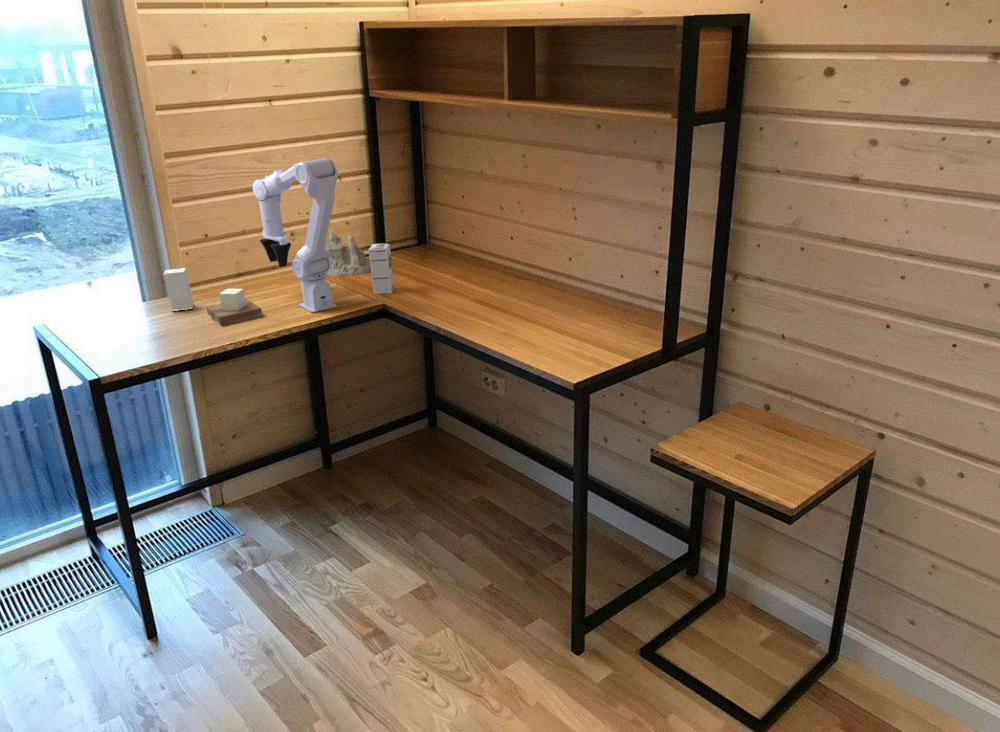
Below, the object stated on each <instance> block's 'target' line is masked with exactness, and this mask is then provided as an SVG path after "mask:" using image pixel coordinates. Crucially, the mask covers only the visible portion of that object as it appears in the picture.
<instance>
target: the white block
mask: <svg viewBox="0 0 1000 732" xmlns="http://www.w3.org/2000/svg"><path fill="white" fill-rule="evenodd" d="M218 296H219V301H220V304H221V307H222V310H224V311H239V310H240V309H242V308H243V307H245V306H246V300H245V299H246V295H245V290H244V288H226V289H225V290H223V291H221V292H220V293H218Z"/></svg>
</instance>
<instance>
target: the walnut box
mask: <svg viewBox="0 0 1000 732" xmlns="http://www.w3.org/2000/svg"><path fill="white" fill-rule="evenodd" d="M245 300H246V306H245V307H243V308H242V309H240V310H239V311H224V310H222V307H221V303H220V304H217V305H211V306H207V307H206V311H207V316H208V315H210V316H211V317H212V318H213V319H214V320H215V321H217V322H218V323H219V324H220V325H224V326H227V325H231V324H235V323H236V324H237V323H240V322H241V323H242V322H244V321H249V320H253V319H256V318H257V319H258V318H261V317H263V312H262V308H261V307H260V306H258V305H257V304H255V303H254V302H252V301H251V300H250V299H248V298H245ZM212 318H211V319H212ZM213 319H212V320H213ZM214 320H213V321H214ZM215 321H214V322H215ZM217 322H216V323H217ZM218 323H217V324H218ZM219 324H218V325H219ZM220 325H219V326H220Z"/></svg>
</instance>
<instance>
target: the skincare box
mask: <svg viewBox="0 0 1000 732" xmlns="http://www.w3.org/2000/svg"><path fill="white" fill-rule="evenodd" d="M162 275H163V279H164V283H165V286H166V291H167V296H168V299H169V304H170V307H171V310H172V309H183V308H184V309H186V308H192V307H193V305H194V306H195V304H194V300H193V294H192V290H191V286H190V281H189V277H188V271H187V268H185V267H184V268H182V267H181V268H176V269H175V268H174V269H173V268H171V269H165V271H164V272H163V274H162Z"/></svg>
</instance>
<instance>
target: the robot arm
mask: <svg viewBox="0 0 1000 732" xmlns="http://www.w3.org/2000/svg"><path fill="white" fill-rule="evenodd" d="M272 172H273V173H272V174H268V175H267V174H266V175H265V178H262V179H256V180H254V181H253V184H252V192H253V195H254V196H255V198H256V199H257V200H258V204H259V211H260V217H261V218H260V219H261V224H262V231H261V234H262V237H263V238H262V239H259V242H260V243H261V245H262V246H263V248H264V250H265V252H266V255H267V257H268V259H269V260H268V261H270V263H272V262H277V263H278V266H279V268H283V267H287V266H288V260H289V252H290V250H291V246H292V243H291V242H288V239H287V237H286V236H288V234H289V233H288V232H287V231H284V227H283V218H282V212H281V206H280V203H281V201H282V200H281V196H282V193H284V192H286V191H287V190H289V189H291V188H292V185H293V183H294V182H296V181H297V182H299V184H300V185H301V187H302V188H303V191H305V193H306V195H307V196H308V197H310V198H312V199H313V201H312V206H311V209H310V210H311V211H310V216H309V221H308V225H307V226H308V227H307V232H306V236H305V240H304V241H305V242H304V245H303V246H302V247H301V248H300V249H299V250H298V251H297V252H296V255H295V258H294V259H293V260H292V263H291V264H292V271H293V274H294V275H295V277H296V278H298V280H300V284H301V291H302V298H303V299H302V301H303V302H300V303H299V304H298V305H299V306H300V307H302V308H303V309H305V310H306V311H308V312H310V313H316V312H322V311H325V310H328V309H333V308H336V307H337V304H335V303H334V299H333V291H332V287H331V284H330V283H329V282H328V281H327V278H326V276H328V275H327V271H329V269H330V253H329V251H328V250H327V249H326V248H325V245H326V243H327V240H326V239H327V237H328V232H329V228H330V223H331V218H332V214H333V209H334V203H335V197H336V193H335V192H336V191H335V190H336V187H337V186H336V185H337V180H338V176H339V172H338V170H337V167H336V165H335V163H334V161H333V160H332V159H331V158H330V157H323V158H319V159H314V160H309V161H308V160H307V161H299V162H298V163H297V162H296V163H294V164H293V166H291V167H290V168H288V169H286V170H284V169H283V170H281V169H279V168H278V169H274V170H273V171H272Z"/></svg>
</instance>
